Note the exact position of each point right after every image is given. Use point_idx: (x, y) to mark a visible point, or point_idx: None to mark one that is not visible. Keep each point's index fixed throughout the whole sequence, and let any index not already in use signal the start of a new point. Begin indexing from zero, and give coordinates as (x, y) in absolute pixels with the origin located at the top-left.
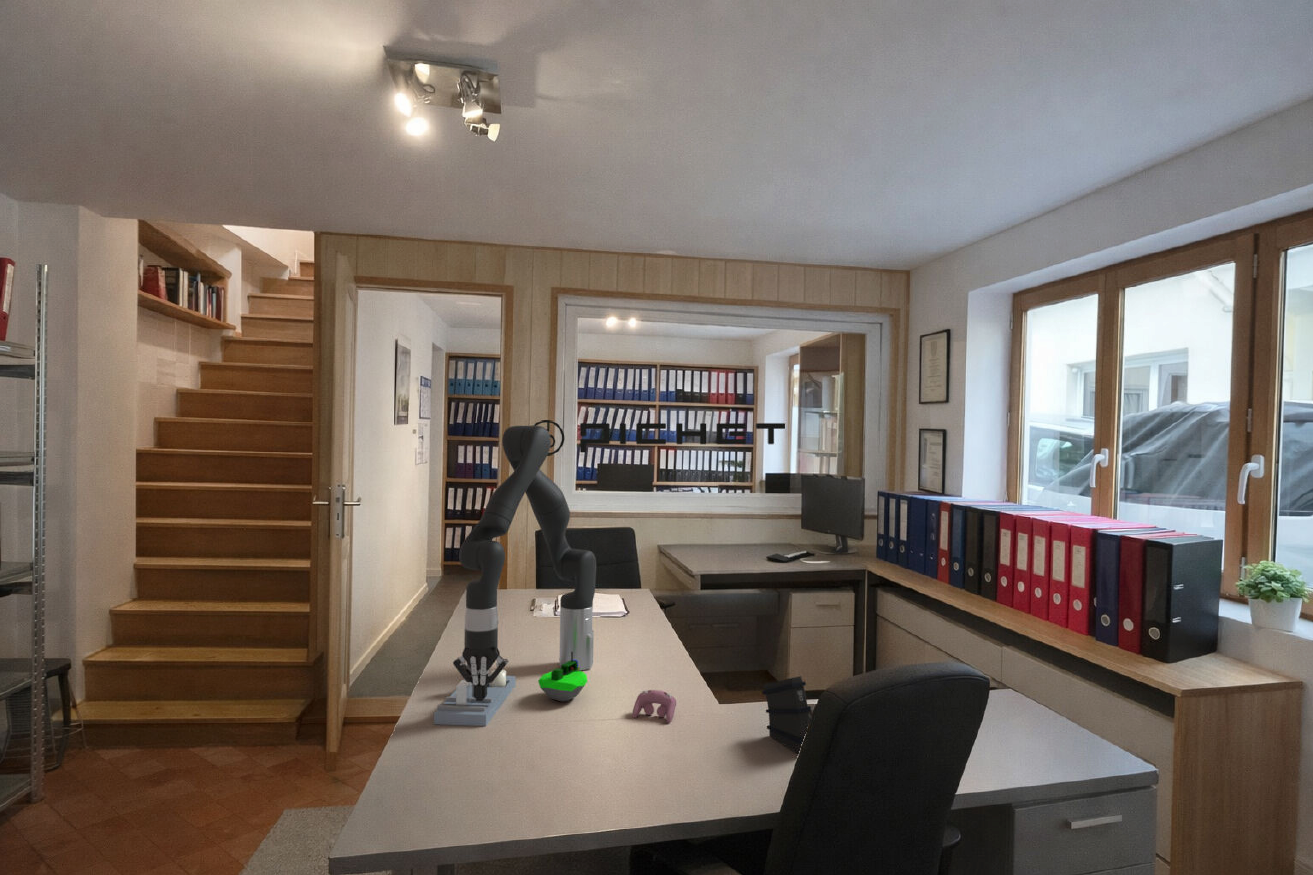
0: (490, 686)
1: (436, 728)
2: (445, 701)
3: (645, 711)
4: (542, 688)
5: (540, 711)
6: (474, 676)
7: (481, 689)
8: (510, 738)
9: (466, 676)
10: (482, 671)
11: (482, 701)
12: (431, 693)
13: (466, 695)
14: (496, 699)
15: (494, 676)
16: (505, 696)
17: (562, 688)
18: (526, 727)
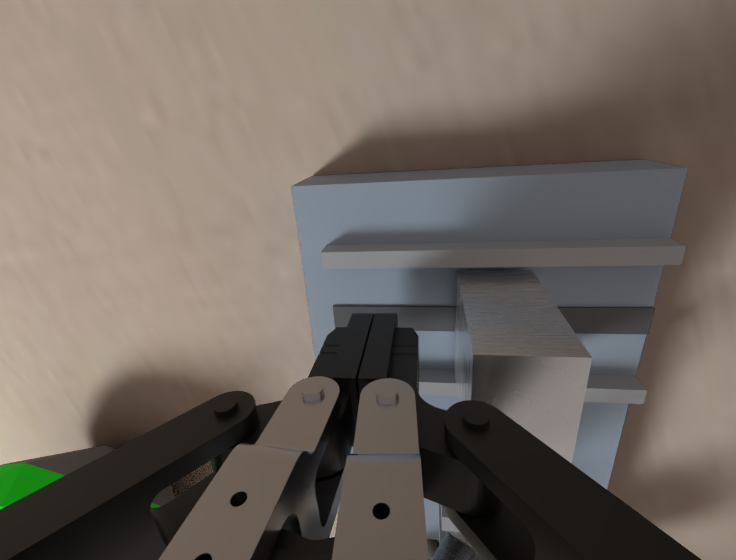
0: (428, 547)
1: (608, 92)
2: (633, 369)
3: None
4: None
5: (149, 366)
6: (393, 446)
7: (341, 357)
8: (106, 25)
9: (500, 450)
10: (253, 486)
11: None
12: (729, 529)
13: (464, 309)
14: None
15: (159, 439)
16: None
17: (10, 469)
18: (110, 190)
